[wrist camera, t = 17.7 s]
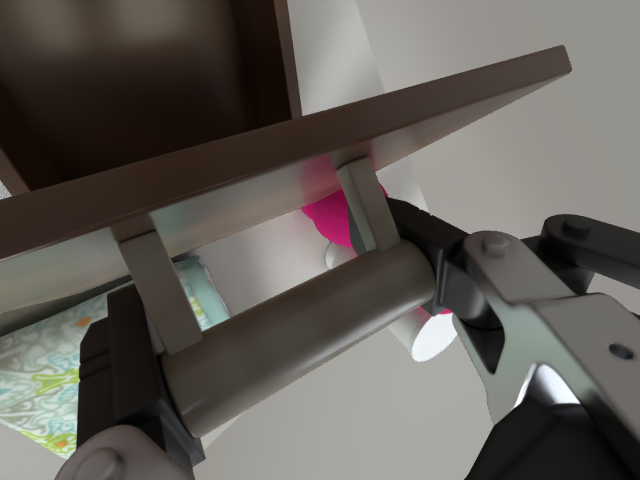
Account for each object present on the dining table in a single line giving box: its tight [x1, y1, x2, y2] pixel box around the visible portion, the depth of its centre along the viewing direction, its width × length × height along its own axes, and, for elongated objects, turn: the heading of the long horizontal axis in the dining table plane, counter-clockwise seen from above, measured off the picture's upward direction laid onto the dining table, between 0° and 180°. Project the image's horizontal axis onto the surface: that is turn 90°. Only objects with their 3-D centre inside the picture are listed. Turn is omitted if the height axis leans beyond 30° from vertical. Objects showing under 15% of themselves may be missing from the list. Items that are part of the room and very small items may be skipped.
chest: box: [0, 0, 302, 196], centre depth 20 cm, size 17×16×8 cm
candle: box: [325, 242, 457, 361], centre depth 35 cm, size 7×7×15 cm
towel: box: [0, 256, 231, 460], centre depth 31 cm, size 18×21×5 cm
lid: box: [0, 45, 572, 439], centre depth 13 cm, size 17×16×5 cm
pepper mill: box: [301, 183, 453, 314], centre depth 27 cm, size 7×7×20 cm
